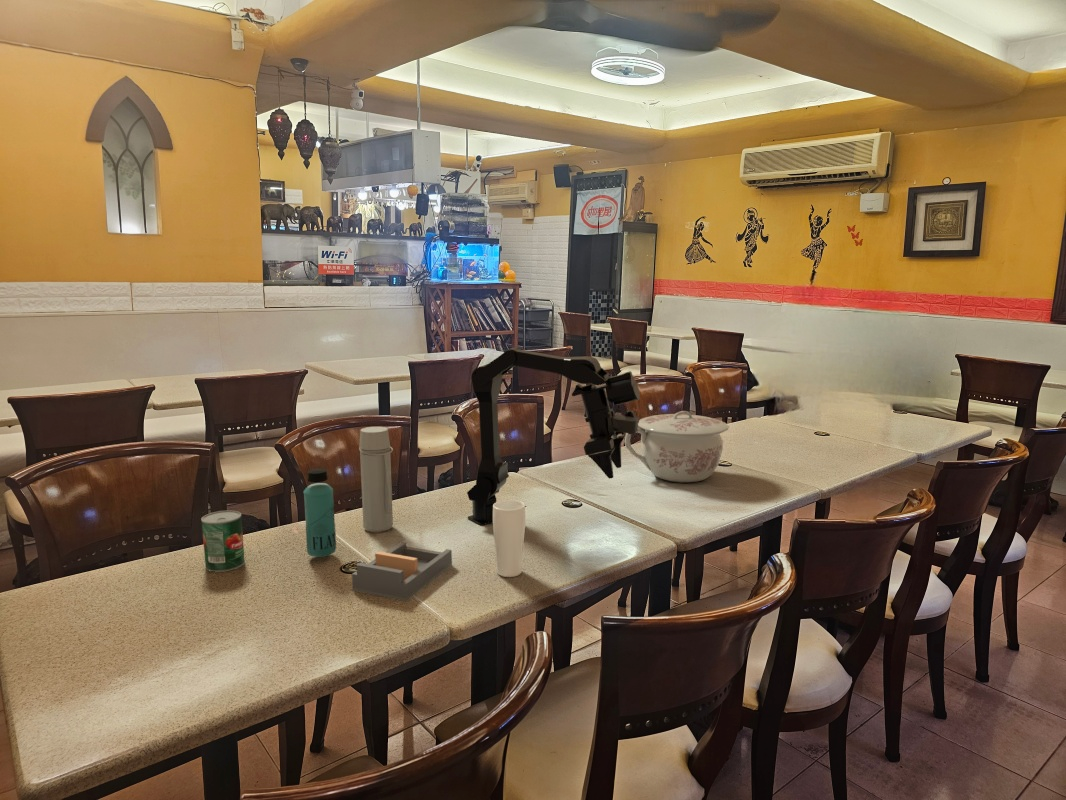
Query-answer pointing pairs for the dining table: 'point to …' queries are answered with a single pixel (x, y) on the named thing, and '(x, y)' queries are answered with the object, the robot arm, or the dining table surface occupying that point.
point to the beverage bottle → (319, 515)
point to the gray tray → (401, 573)
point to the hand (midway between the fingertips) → (615, 472)
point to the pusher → (397, 562)
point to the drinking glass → (509, 536)
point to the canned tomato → (223, 540)
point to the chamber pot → (680, 446)
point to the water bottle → (376, 478)
